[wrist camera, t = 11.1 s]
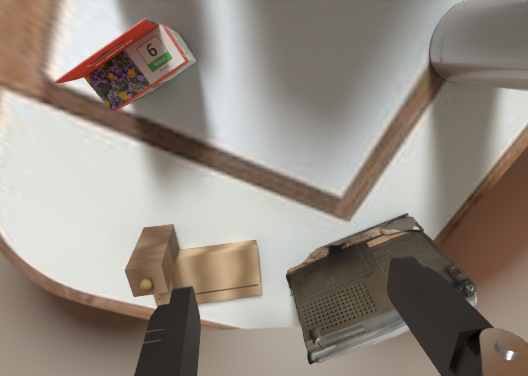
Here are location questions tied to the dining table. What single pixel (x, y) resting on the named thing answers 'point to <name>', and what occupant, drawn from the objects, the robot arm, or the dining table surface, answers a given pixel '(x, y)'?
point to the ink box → (134, 64)
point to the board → (218, 271)
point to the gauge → (153, 263)
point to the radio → (362, 287)
